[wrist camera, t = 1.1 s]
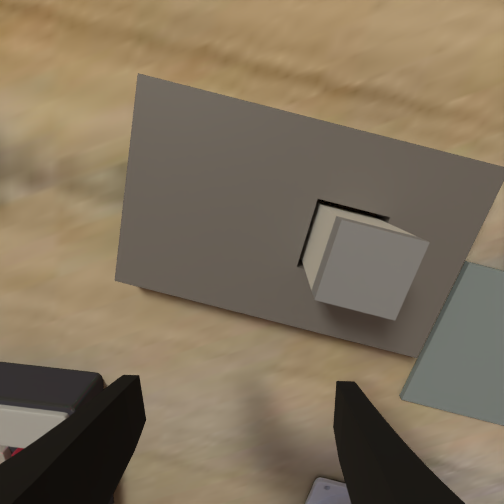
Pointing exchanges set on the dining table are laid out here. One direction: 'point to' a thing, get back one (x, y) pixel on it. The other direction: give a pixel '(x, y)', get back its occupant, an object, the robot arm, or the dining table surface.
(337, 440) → the robot arm
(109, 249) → the dining table surface
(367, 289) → the plug
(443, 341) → the mat
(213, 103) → the grey slotted plate
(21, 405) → the black and red box
